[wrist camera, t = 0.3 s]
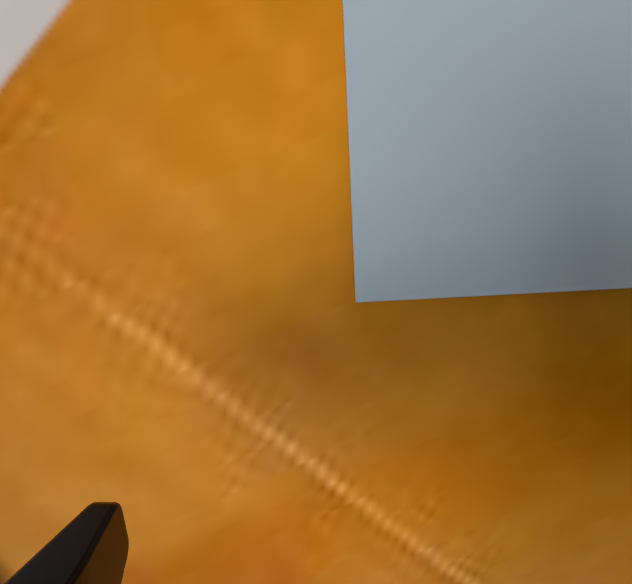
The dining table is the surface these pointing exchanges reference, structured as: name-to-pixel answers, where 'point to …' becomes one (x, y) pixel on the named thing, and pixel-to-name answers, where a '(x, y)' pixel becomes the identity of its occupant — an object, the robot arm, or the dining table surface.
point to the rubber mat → (489, 146)
